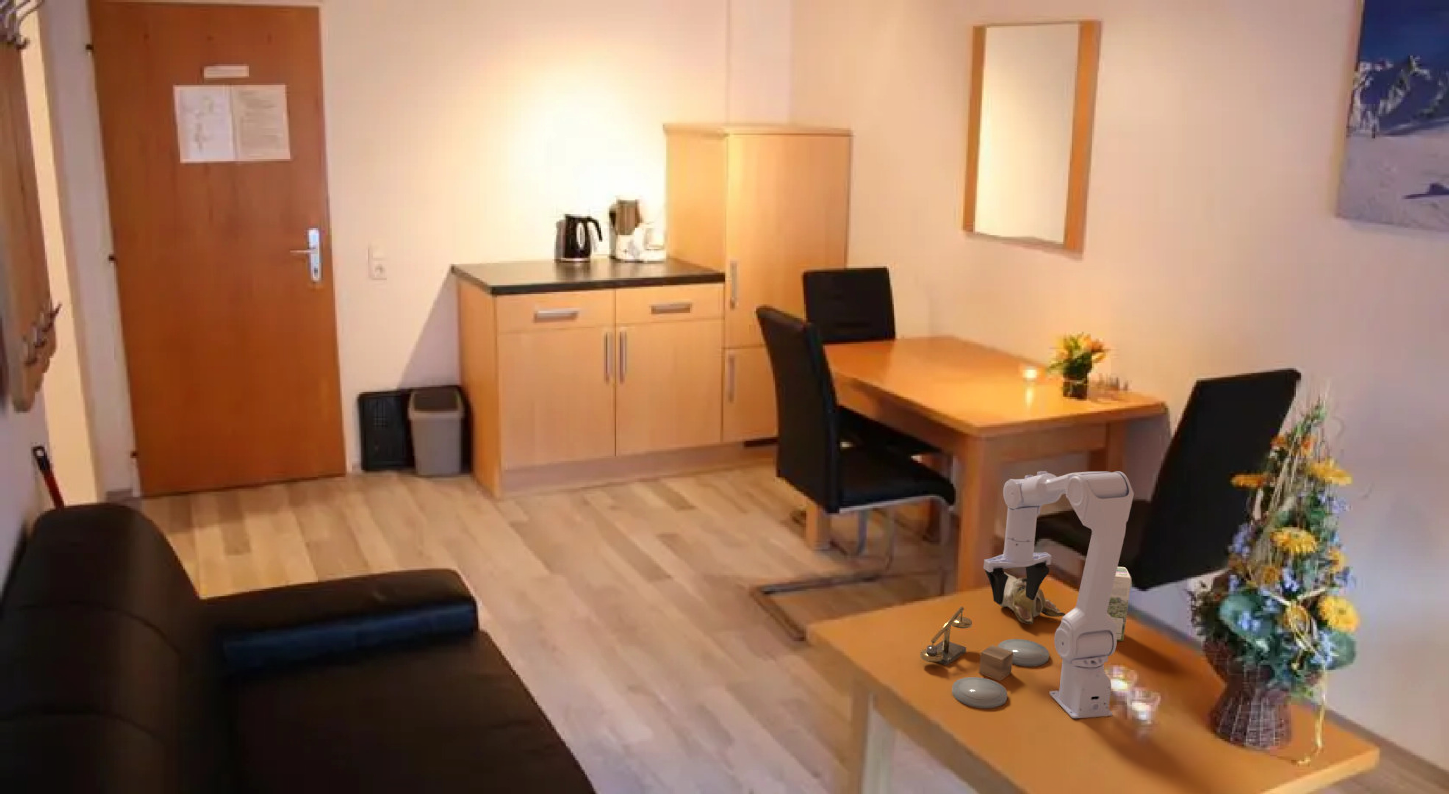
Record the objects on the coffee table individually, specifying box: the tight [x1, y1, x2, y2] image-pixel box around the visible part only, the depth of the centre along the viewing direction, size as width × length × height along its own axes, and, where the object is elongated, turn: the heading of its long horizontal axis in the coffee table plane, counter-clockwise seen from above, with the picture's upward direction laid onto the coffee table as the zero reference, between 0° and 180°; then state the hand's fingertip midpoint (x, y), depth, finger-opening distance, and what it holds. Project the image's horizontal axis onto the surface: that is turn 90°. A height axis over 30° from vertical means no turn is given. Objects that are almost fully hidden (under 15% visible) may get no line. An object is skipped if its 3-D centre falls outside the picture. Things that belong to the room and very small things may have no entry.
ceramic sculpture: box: [999, 571, 1066, 625], centre depth 256 cm, size 11×9×15 cm
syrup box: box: [1107, 566, 1132, 642], centre depth 246 cm, size 6×6×14 cm
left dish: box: [951, 676, 1008, 709], centre depth 221 cm, size 10×10×1 cm
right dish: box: [997, 638, 1050, 667], centre depth 238 cm, size 10×10×1 cm
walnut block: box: [978, 644, 1013, 682], centre depth 230 cm, size 4×4×4 cm
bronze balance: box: [919, 606, 973, 666], centre depth 236 cm, size 16×5×8 cm, turn 141°
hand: (1014, 600), depth 240 cm, fingers open, 7 cm apart
